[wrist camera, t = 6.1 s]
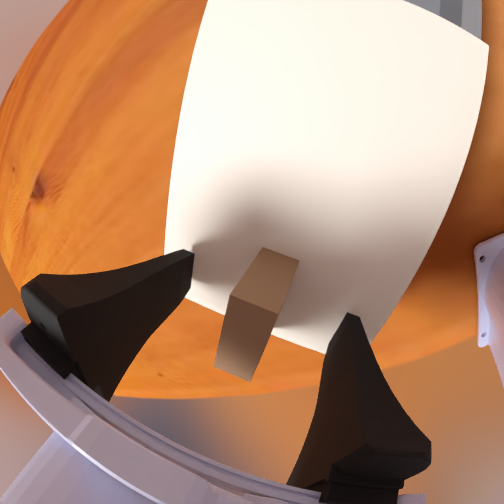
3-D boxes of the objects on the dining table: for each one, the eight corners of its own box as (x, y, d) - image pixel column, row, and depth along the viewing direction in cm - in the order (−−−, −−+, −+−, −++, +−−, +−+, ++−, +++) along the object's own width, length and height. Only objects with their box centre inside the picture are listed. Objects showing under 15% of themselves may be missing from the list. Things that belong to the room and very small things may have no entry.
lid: (223, -23, 7) (172, -63, 3) (483, 48, 5) (533, 25, 1) (168, 281, 15) (123, 325, 11) (355, 355, 13) (348, 420, 9)
